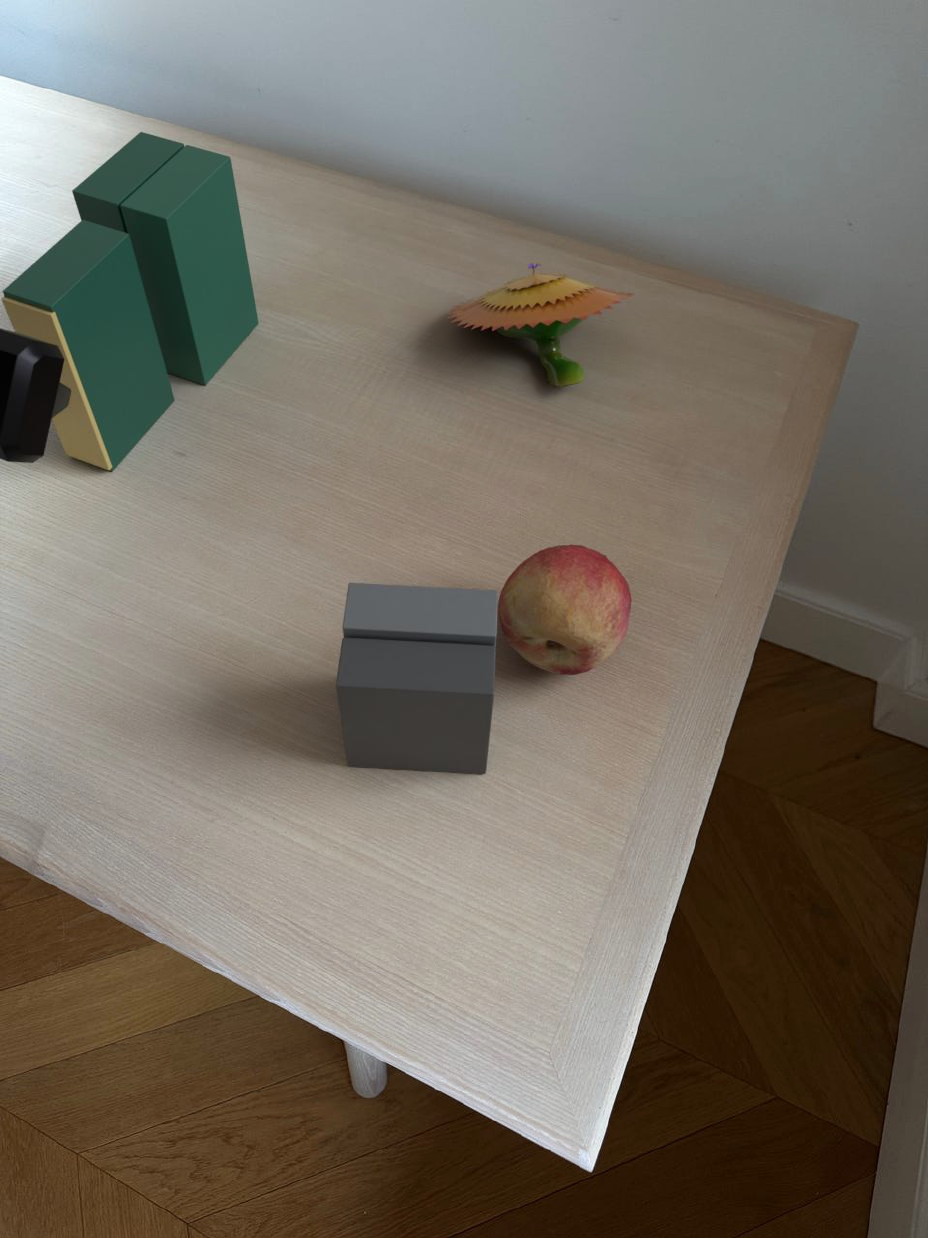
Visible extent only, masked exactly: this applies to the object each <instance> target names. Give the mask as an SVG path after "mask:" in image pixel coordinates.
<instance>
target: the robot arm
mask: <svg viewBox="0 0 928 1238" xmlns="http://www.w3.org/2000/svg"><path fill="white" fill-rule="evenodd" d="M64 360H65V359H64V357H63V355H62V353H61V351H60V349H59V347H58V346H57V345H54V344H51V343H48V342H45V341H42V340H39V339H35V338H32V337H29V336H26V335H23V334H20V333H16V332H15V331H14V330H13V331H12V330H9V329H6V328H2V327H0V460H2V461H5V462H7V463H25V464H33V463H35V462H36V461H38V460H40V459H41V458H43V457H44V455H45V451H46V446H47V442H48V438H49V433H50V428H51V423H52V418H53V417H55V416H56V415H57V414H59V413H60V412H61V411H63V410H64V409H65V408H67V407H68V405H69V400H70V396H71V389H70V388H68V387H67V386H65V385H64V384H62V383H60V378H61V374H62V369H63V365H64Z"/></svg>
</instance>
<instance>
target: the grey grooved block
mask: <svg viewBox="0 0 928 1238" xmlns="http://www.w3.org/2000/svg"><path fill="white" fill-rule="evenodd" d="M498 602H499V591H498V590H494V589H474V588H459V587H458V588H457V587H442V586H441V587H438V586H437V587H436V586H421V585H401V584H384V583H364V582H348V585H347V592H346V599H345V606H344V613H343V621H342V634H343V635H342V636H343V638H342V639H341V644H340V652H339V660H338V666H337V674H336V680H335V681H336V682H335V689H336V697H337V703H338V709H339V711H338V712H339V717H340V724H341V731H342V738H343V744H344V750H345V751H344V752H345V758H346V765H347V767H352V768H368V769H369V768H370V769H386V770H388V769H389V770H403V771H404V770H405V771H421V772H422V771H423V772H439V773H440V772H442V773H456V774H457V773H459V774H477V775H478V774H479V775H486V774H487V768H488V758H489V757H488V756H489V747H490V738H491V729H492V719H493V712H494V711H493V709H494V700H495V684H496V683H495V681H496V655H497V654H496V653H497V652H496V651H497V648H496V647H497V631H498Z"/></svg>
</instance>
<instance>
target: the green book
mask: <svg viewBox="0 0 928 1238" xmlns="http://www.w3.org/2000/svg"><path fill="white" fill-rule="evenodd" d="M2 294H3V296H2V297H1V303H2V304H3V306H4V310H5V311H6V313H7V314H6V315H7V316H8V318H9V319H8V320H9V321H10V323H11V326H12V328H13V332H16V333H20V334H23V335H26V336H29V337H32V338H35V339H39V340H42V341H45V342H48V343H51V344H54V345H57V346H58V347H59V349H60V351H61V353H62V355H63V357H64V359H65V360H64V365H63V369H62V374H61V378H60V383H62V384H64V385H65V386H67V387H68V388H70V389H71V396H70V400H69V405H68V407H67V408H65V409H64V410H63V411H61V412H60V413H59V414H57V415H56V416H55V417H53V418H52V420H51V423H52V424H53V426H54V428H55V431H56V433H57V436H58V438H59V441H60V443H61V446H62V448H63V451H64V452H65V455H66V456H68V457H71V458H73V459H76V460H78V461H81V462H84V463H87V464H90V465H93V466H95V467H97V468H100V469H102V470H106V471H108V472H114V471H115V469H116V468H117V467H118V466H119V465H120V464H121V463H122V462H123V460H124V459H126V457H127V456H128V455H129V453H130V452H131V451H132V450H133V449H134V448H135V446H136V445H137V444H138V443H140V441H141V440H142V439H143V438H144V436H145V435H147V433H148V432H149V430H150V429H151V428H152V427H153V426H154V425H155V424H156V423H157V422H158V420H159V419H160V418H161V417H162V416H163V415H164V414H165V412H167V410H168V409H169V408H170V407H171V406H172V404H173V403H174V402H175V396H174V393H173V388H172V386H171V382H170V377H169V375H168V374H169V373H167V370H166V367H165V363H164V359H163V356H162V352H161V349H160V345H159V341H158V338H157V334H156V330H155V327H154V323H153V320H152V316H151V312H150V309H149V305H148V301H147V298H146V294H145V291H144V287H143V283H142V280H141V276H140V272H139V269H138V265H137V262H136V258H135V254H134V251H133V247H132V243H131V240H130V236H129V234H128V233H124V232H121V231H118V230H115V229H111V228H108V227H105V226H102V225H98V224H95V223H92V222H89V221H85V220H82V221H80V222H78V223H77V224H76V225H75V226H74V227H72V229H70V230H69V231H68V232H67V233H66V234H64V236H62V238H60V239H59V240H58V241H57V242H56V243H54V244H53V245H52V246H51V247H50V248H49V249H48V250H47V251H46V252H44V253H43V254H42V255H41V256H40V257H39V258H38V259H36V261H34V262H33V263H32V264H30V266H29V267H28V268H26V270H24V271H23V272H22V273H21V274H20V275H19V276H18V277H17V278H15V279H14V280H13V281H12V282H11V283H9V285H7V286H6V287H5V288H4V289H3V290H2Z"/></svg>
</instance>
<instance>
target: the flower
mask: <svg viewBox="0 0 928 1238" xmlns="http://www.w3.org/2000/svg"><path fill="white" fill-rule="evenodd" d="M527 266H528V269H531V270H532V271H533V272H532V274H529V275H526V276H522V277H519V278H515V279H513V280H509V281H507V282H506V283H503V284H502V286H501V287H497V288H494V289H491V290H489V291H487V292H485V293H482V294H481V296H480V295H479V296H478V297H477V298H472V299H468V300H466V301H465V302H460V303H459V304H458V305H455V306H453V308H451V309H450V312H448V313H446V315H450V316H448V317H446V320H447V319H453V318H454V319H453V320H452V321H450V324H451V323H456V322H459V323H457V324H456V327H459V326H462V325H464V327H463V329H465V328H468V327H471V326H472V328H471V330H473V329H476V328H479V327H481V329H480V331H484V330H486V329H489V328H492V329H491V332H493V331H495V330H496V332H497V333H498V334H500V335H502V336H503V337H507V338H515V339H525V340H530V341H531V340H532V341H533V342H535V343H536V345H537V348H538V355H539V361H540V362H539V363H540V364H541V366H542V367H543V368H544V370H546V373H547V376H546V377H547V381H548V383H549V384H550V385H552V386H556V387H559V388H561V387H568V386H569V387H570V386H573V385H577V384H579V383H581V382H582V381H584V380H585V379H586V374H585V371H584V368H583V366H582V364H581V363H580V361H577V360H574V359H571V358H568V357H567V356H566V355H565V354H564V353H563V352H562V351H563V350H562V349H561V343H562V340H563V338H564V337H566V336H567V335H569V334H570V332H572V331H573V330H574V329H575V328H577V326H578V325H580V324H581V323H582V322H583V321H584V320H585V321H586V320H587V318H588V316H589V315H603V314H602V311H601V310H613V309H614V308H613V307H612V306H611V305H616V304H622V302H621V300H629V298H628V297H633V293H632V292H628V291H627V292H626V291H623V290H616V289H611V288H610V289H609V288H603V287H600V285H597V284H593V283H590V282H586V281H581V280H577V279H575V278H571V277H569V274H566V273H553V272H548V273H535V269H536V268H538V266H542V264H541V263H538V262H537V263H536V264H535V265H534V262H531V263H527ZM619 300H620V301H619ZM465 324H466V325H465Z"/></svg>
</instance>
